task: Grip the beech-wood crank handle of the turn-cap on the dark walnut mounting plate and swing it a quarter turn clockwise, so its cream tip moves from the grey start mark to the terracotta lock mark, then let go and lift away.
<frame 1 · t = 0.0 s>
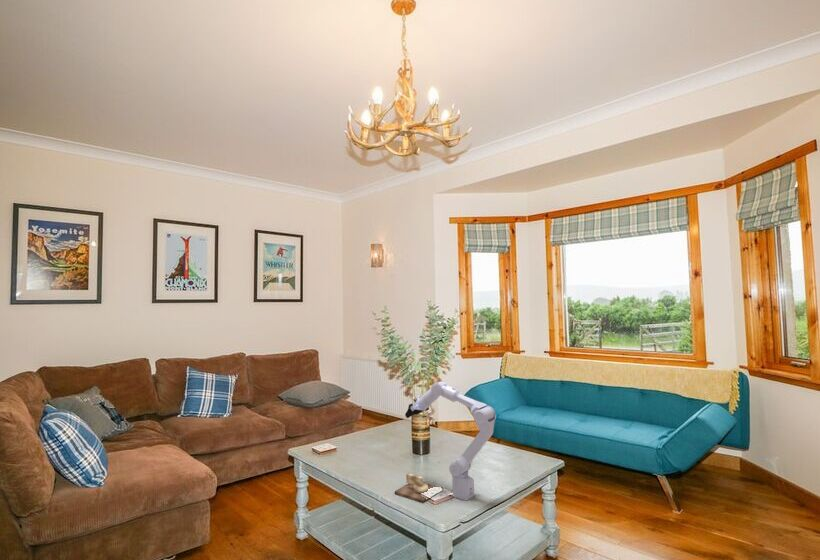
hand: (410, 414, 222), 32 cm above the table, tool tilted 50°, fingers open, 7 cm apart
turn cap: (416, 483, 207), point 4 cm above the table, hinge at 0.0°
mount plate: (421, 494, 205), on the table
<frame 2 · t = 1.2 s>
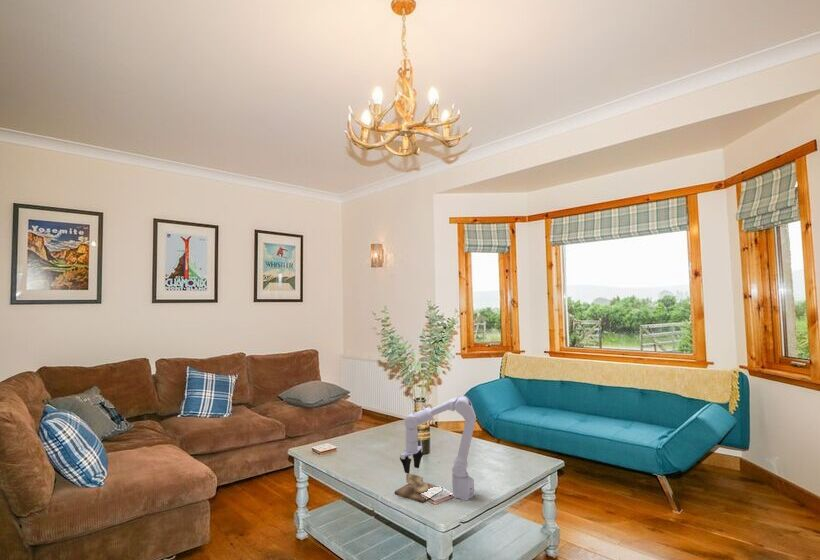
hand: (411, 470, 209), 10 cm above the table, tool pointing down, fingers open, 7 cm apart
nothing on the table moved.
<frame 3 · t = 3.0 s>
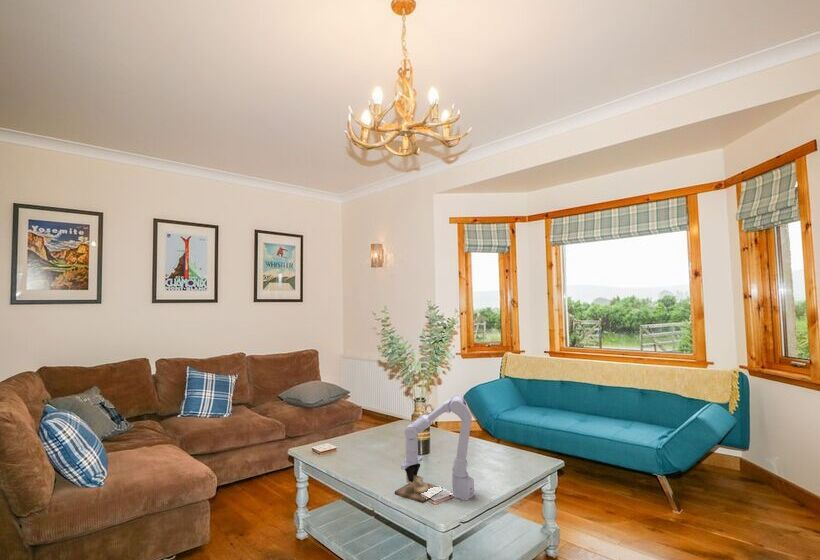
hand: (412, 480, 208), 5 cm above the table, tool pointing down, fingers closed on turn cap, 2 cm apart
turn cap: (416, 483, 207), point 4 cm above the table, hinge at 0.0°, touching gripper
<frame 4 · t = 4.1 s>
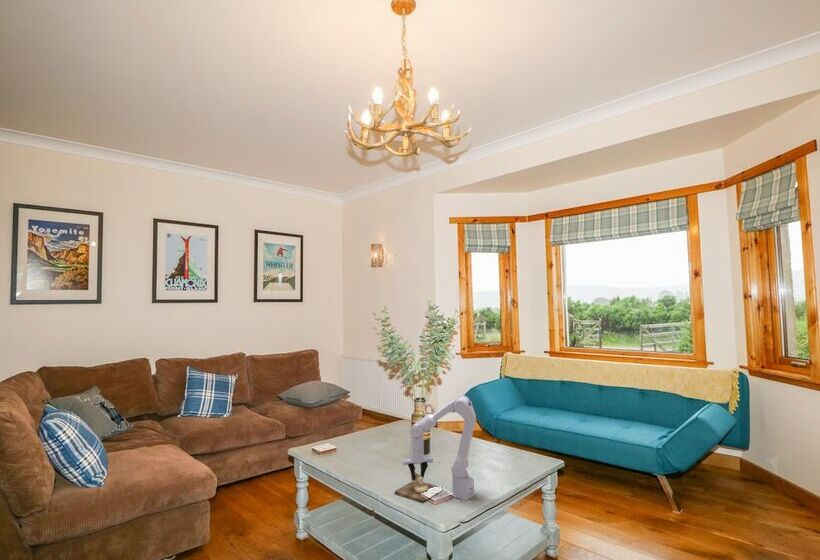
hand: (417, 479, 210), 5 cm above the table, tool pointing down, fingers open, 3 cm apart
turn cap: (418, 482, 207), point 4 cm above the table, hinge at 24.0°, touching gripper
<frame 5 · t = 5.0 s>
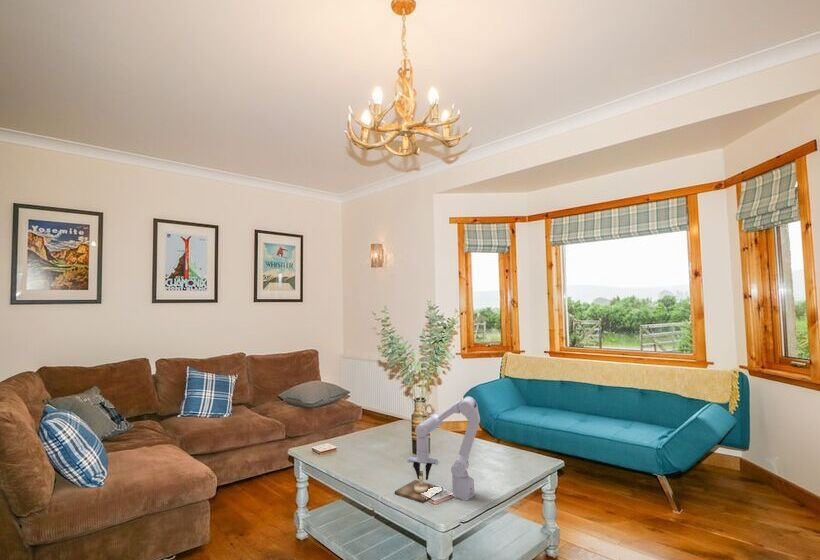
hand: (423, 478, 210), 5 cm above the table, tool pointing down, fingers open, 3 cm apart
turn cap: (421, 482, 208), point 4 cm above the table, hinge at 56.4°, touching gripper
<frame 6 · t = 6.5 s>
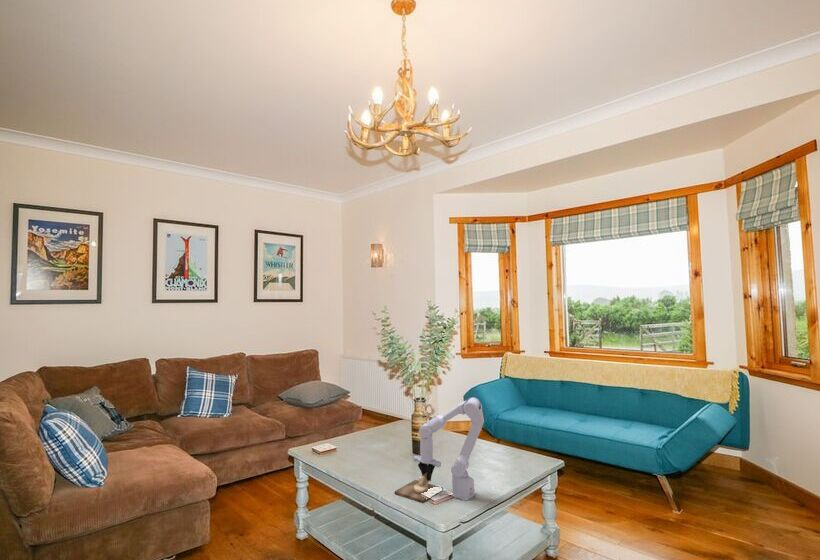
hand: (427, 479, 209), 5 cm above the table, tool pointing down, fingers closed
turn cap: (423, 482, 207), point 4 cm above the table, hinge at 87.0°, touching gripper
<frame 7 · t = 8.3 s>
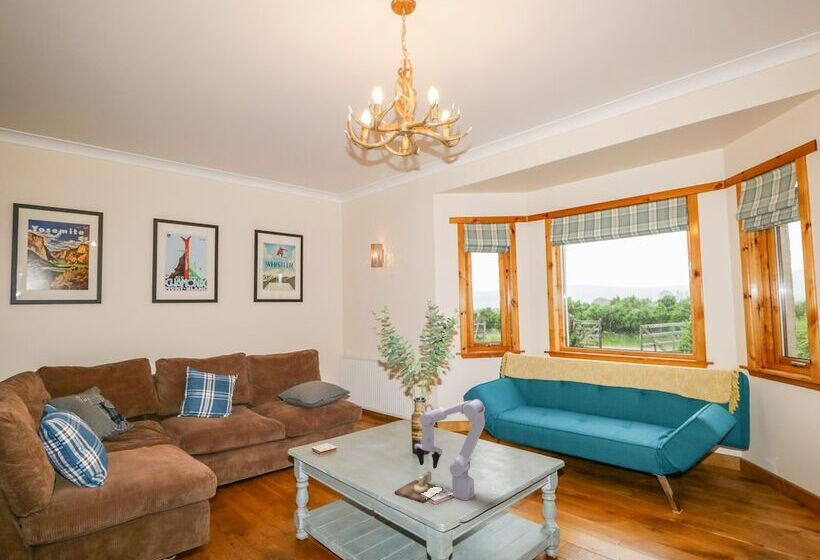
hand: (428, 466, 214), 9 cm above the table, tool pointing down, fingers open, 7 cm apart
turn cap: (423, 482, 207), point 4 cm above the table, hinge at 87.6°
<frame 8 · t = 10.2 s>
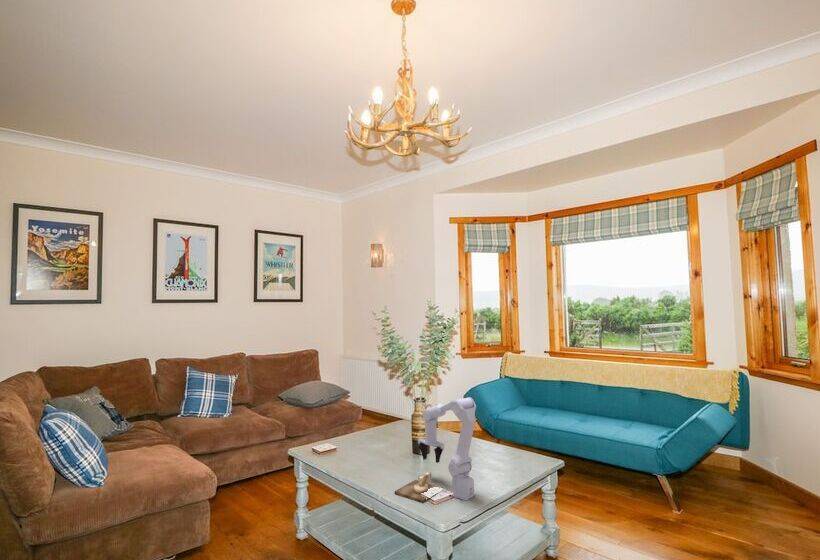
hand: (431, 460, 221), 9 cm above the table, tool pointing down, fingers open, 7 cm apart
nothing on the table moved.
at the end: turn cap at +88° (first picture: +0°); the gripper is holding nothing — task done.
